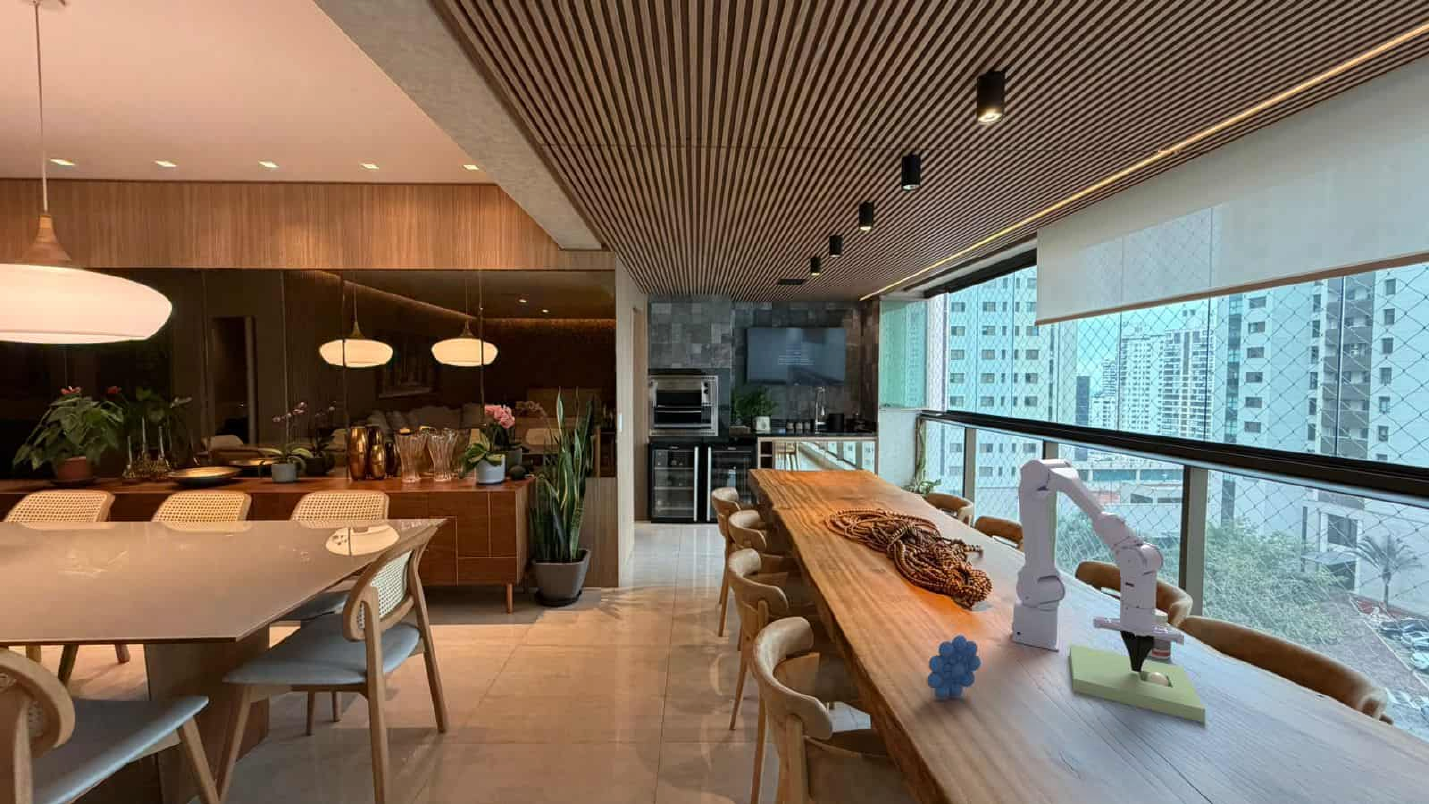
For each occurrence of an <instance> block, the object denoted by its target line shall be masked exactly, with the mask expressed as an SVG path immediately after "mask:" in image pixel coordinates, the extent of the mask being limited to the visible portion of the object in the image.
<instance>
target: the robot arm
mask: <svg viewBox="0 0 1429 804" xmlns="http://www.w3.org/2000/svg"><path fill="white" fill-rule="evenodd" d="M1019 472H1020V473H1019V474H1020V481H1019V485H1018V488H1017V495H1018V505H1019V514H1020V515H1019V516H1020V523H1021V524H1020V526H1021V532H1022V543H1023V549H1024V550H1023V552H1024V553H1023V554H1024V562H1025V563H1024V564H1023V565H1022V566H1021V568H1020V569H1019V570H1018V572H1017V577H1018V578H1017V582H1016V586H1015V591H1016V594H1017V597H1018V598H1019V600H1017V599H1014V600H1013V613H1012V614H1013V616H1012V617H1013V619H1012V622H1011V631H1012V642H1016V643H1019V644H1024V645H1029V646H1033V647H1037V648H1042V649H1048V650H1052V651H1056V652H1059V651H1060V641H1059V636H1058V615H1059V614H1058V612H1059V609H1058V608H1059V606H1060V602H1061V601H1062V600H1064V599H1065V596H1066V594H1067V593H1066V592H1067V591H1066V587H1065V584H1064V582H1063V580H1062V578H1061V572H1060V570H1059V569H1058V568H1057V567H1056V566H1055V565H1053V563H1052V553H1051V546H1050V538H1049V528H1048V520H1047V509H1046V503H1045V498H1046V497H1048V495H1050V494H1051V493H1052V491H1054V492H1058V493H1063V494H1065V495H1066V496H1067V497H1068V498H1069V499H1070V501H1072V502H1073V503H1074V504H1075V505H1076V506H1077V507H1078V508H1079V509H1080V511H1082V512H1083V513H1084V514H1085V515H1086V516H1087V517H1088V518H1089V519H1090V520H1091V529H1092V531H1093V532H1094V533H1095V534H1096V535H1097V536H1098V537H1099V538H1100V540H1101V541H1102V542H1103V543H1104V544H1105V545H1106V547H1108V549H1109V550H1110V551H1111V553H1113V555H1115V556H1114V557H1113V558H1114V563H1115V565H1116V567H1117V568H1118V570H1119V578H1120V594H1119V595H1120V599H1119V600H1120V602H1119V603H1120V604H1119V617H1118V618H1117V617H1109V616H1107V617H1105V616H1099V615H1093V620H1092V621H1093V623H1092V625H1093V628H1094V629H1104V630H1111V631H1116V632H1119V633H1120V636H1121V638H1122V642H1123V643H1124V645H1125V648H1126V650H1127V652H1128V656H1129V657H1130V663H1131V669H1132V671H1135V672H1141V668H1142V665H1143V662H1144V660H1145V659H1146V658H1147V657H1148V653H1149V652H1150V651H1151V650H1152V649H1153V647H1154V645H1155V641H1154V638H1156V639H1161V640H1167V641H1171V643H1176V644H1178V645H1182V646H1184V645H1185V644H1184V643H1185V635H1184V633H1183V631H1180V630H1175V629H1172V628H1171V629H1167V628H1164V627H1160V626H1156V625H1155V610H1157V608H1156V607H1157V605H1156V603H1157V578H1158V577H1157V572H1159V571H1160V570H1161V569H1162V568H1163V566H1164V563H1165V561H1164V557H1163V555H1162V552H1161V551H1160V550H1159V548H1158V547H1157V546H1156V545H1154V544H1152V543H1149V542H1145V540H1144V539H1143V538H1142V537H1141V536H1138V535H1137V534H1136V533H1135V532H1134V531H1133V529H1131V528H1130V526H1129V525H1128V524H1127V523H1126V522H1127V520H1126V518H1125V517H1123V516H1119V515H1118V514H1117V513H1114V512H1108V511H1107V510H1106V508H1104V506H1103V505H1102V504H1101V503H1100V501H1098V499H1097V498H1096V497H1095V495H1094V494H1093V493H1092V492H1091V491H1090V489H1089V488H1088V487H1087V486H1086V484H1084V482H1083V481H1082V480H1081V479H1080V476H1079V472H1078V470H1077V469H1076V468H1074V467H1073V466H1072V465H1071V463H1070V462H1069V461H1068V460H1067V459H1064V458H1051V459H1030V460H1027V462H1025V463H1024V465H1023V466H1021V467H1020V469H1019Z"/></svg>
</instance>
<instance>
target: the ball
mask: <svg viewBox="0 0 1429 804" xmlns="http://www.w3.org/2000/svg"><path fill="white" fill-rule="evenodd" d="M1146 681H1147V682H1151V683H1155V684H1159V685H1164V686H1169V683H1168V680H1167V678H1166V677H1165V676H1164V675H1162V674H1161V673H1158V672H1151V673H1149V674H1148V675H1147V677H1146Z"/></svg>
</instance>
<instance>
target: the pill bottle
mask: <svg viewBox="0 0 1429 804" xmlns="http://www.w3.org/2000/svg"><path fill="white" fill-rule="evenodd" d="M1168 616H1169V615H1168V613H1166V612H1164V611H1162V610H1159V609H1155V625H1156V626H1160V627H1164V628H1167V629H1171V630H1172V627H1171V624H1169V623H1168V620H1169V618H1168ZM1154 641H1155V645H1154V647H1153V649H1152V650H1151V651H1150V652H1149V653H1148V655H1147V657H1151V658H1155V659H1158V660H1169V659H1170V658H1171V653H1172V650H1171V649H1172V641H1167V640H1161V639H1156V638H1154Z"/></svg>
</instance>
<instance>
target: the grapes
mask: <svg viewBox="0 0 1429 804" xmlns="http://www.w3.org/2000/svg"><path fill="white" fill-rule="evenodd" d="M977 653H978V645H977V642H975V641H973V640H967V638H966V637H965V636H963V635H957V636H955V637H954V638H953V639H952V641H948V640H945V641H943V642H941V643H940V644H939V646H938V654H937V655H934V656H932V657H931V658H930V659H929V662H928V667H929V670H930V671H931V672H930V673H929V674H928V676H927V680H926V683H927V685H928V687H930V689H934V694H935V696H936V697H937V698H938V699H946V698H948V696H949V697H950V696H951V697H954V698H953V699H957V698H959V697H960V696H961V695H962V694H963V689H964V688H969V687H971V686H973V685H974V684H975V680H976V678H975V674H974V672H976V671H978V669H979V668H981V667H980V666H981V659H980V657H979V656H978V655H977ZM951 697H950V698H951Z"/></svg>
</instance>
